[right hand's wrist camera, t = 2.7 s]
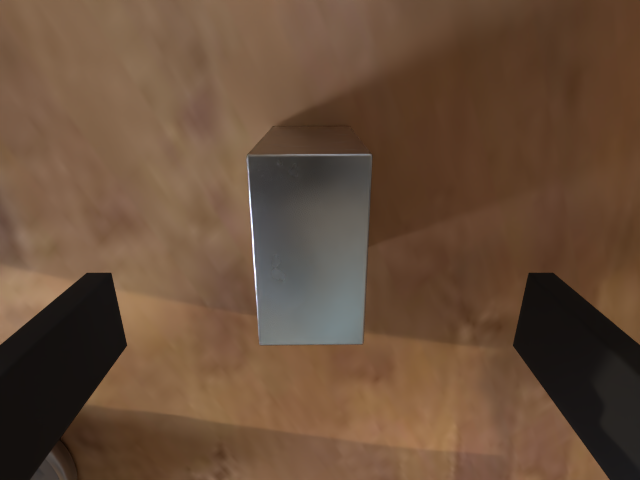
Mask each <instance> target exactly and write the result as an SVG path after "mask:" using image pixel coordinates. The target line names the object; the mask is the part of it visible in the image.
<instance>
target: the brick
mask: <svg viewBox="0 0 640 480" xmlns="http://www.w3.org/2000/svg"><path fill="white" fill-rule="evenodd" d="M372 159H373V156H372V154H371V152H370V151H369V150H368V149H367V147H366V146H365V145H364V144H363V142H362V141H361V140H360V138H359V137H358V136H357V135H356V133H355V132H354V131H353V130H352V128H351V127H350V126H273V127H272V128H271V129H270V130H269V131H268V132H267V133H266V134H265V135H264V137H263V138H262V139H261V140H260V141H259V142H258V143H257V144H256V145H255V147H254V148H253V149H252V150H251V151H250V152H249V153H248V154H247V170H248V185H249V200H250V215H251V229H252V244H253V259H254V274H255V289H256V304H257V318H258V333H259V344H260V345H362V344H363V343H364V325H365V304H366V283H367V263H368V242H369V221H370V200H371V180H372Z"/></svg>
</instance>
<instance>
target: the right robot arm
mask: <svg viewBox="0 0 640 480" xmlns="http://www.w3.org/2000/svg"><path fill="white" fill-rule="evenodd" d="M126 346H127V343H126V338H125V334H124V329H123V324H122V320H121V315H120V311H119V306H118V301H117V297H116V292H115V288H114V283H113V278H112V274H111V273H86V274H85V275H84V276H83V277H81V278H80V279H79V280H78V281H77V282H75V283H74V284H73V285H72V286H71V287H69V288H68V289H67V290H66V291H65V292H63V293H62V294H61V295H60V296H59V297H57V298H56V299H55V300H54V301H53V302H51V303H50V304H49V305H48V306H47V307H45V308H44V309H43V310H42V311H41V312H39V313H38V314H37V315H36V316H35V317H33V318H32V319H31V320H30V321H29V322H27V323H26V324H25V325H24V326H23V327H21V328H20V329H19V330H18V331H17V332H15V333H14V334H13V335H12V336H11V337H9V338H8V339H7V340H6V341H5V342H3V343H2V344H1V345H0V480H77V471H76V467H75V464H74V461H73V459H72V457H71V455H70V453H69V451H68V450H67V448H66V447H65V446H64V444H63V443H62V442H61V441H60V440H59V439H60V438H61V436H62V435H63V434H64V432H65V431H66V429H67V428H68V427H69V425H70V424H71V422H72V421H73V420H74V418H75V417H76V416H77V414H78V413H79V411H80V410H81V409H82V407H83V406H84V404H85V403H86V402H87V400H88V399H89V398H90V396H91V395H92V393H93V392H94V391H95V389H96V388H97V386H98V385H99V384H100V382H101V381H102V380H103V378H104V377H105V375H106V374H107V373H108V371H109V370H110V369H111V367H112V366H113V364H114V363H115V362H116V360H117V359H118V357H119V356H120V355H121V353H122V352H123V351H124V349H125V348H126ZM513 346H514V348H515V349H516V351H517V352H518V353H519V355H520V356H521V357H522V359H523V360H524V362H525V363H526V364H527V366H528V367H529V369H530V370H531V371H532V373H533V374H534V375H535V377H536V378H537V380H538V381H539V382H540V384H541V385H542V386H543V388H544V389H545V391H546V392H547V393H548V395H549V396H550V398H551V399H552V400H553V402H554V403H555V404H556V406H557V407H558V409H559V410H560V411H561V413H562V414H563V416H564V417H565V418H566V420H567V421H568V422H569V424H570V425H571V427H572V428H573V429H574V431H575V432H576V434H577V435H578V436H579V438H580V439H581V440H582V442H583V443H584V445H585V446H586V447H587V449H588V450H589V452H590V453H591V454H592V456H593V457H594V458H595V460H596V461H597V463H598V464H599V465H600V467H601V468H602V470H603V471H604V472H605V474H606V475H607V476H608V478H609V479H610V480H640V345H639V344H638V343H637V342H635V341H634V340H633V339H632V338H631V337H629V336H628V335H627V334H626V333H625V332H623V331H622V330H621V329H620V328H619V327H617V326H616V325H615V324H614V323H613V322H611V321H610V320H609V319H608V318H607V317H605V316H604V315H603V314H602V313H601V312H599V311H598V310H597V309H596V308H595V307H593V306H592V305H591V304H590V303H589V302H587V301H586V300H585V299H584V298H583V297H581V296H580V295H579V294H578V293H577V292H575V291H574V290H573V289H572V288H571V287H569V286H568V285H567V284H566V283H565V282H563V281H562V280H561V279H560V278H559V277H557V276H556V275H555V274H554V273H529V274H528V278H527V283H526V288H525V292H524V297H523V301H522V306H521V311H520V315H519V320H518V324H517V329H516V334H515V338H514V343H513Z"/></svg>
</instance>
